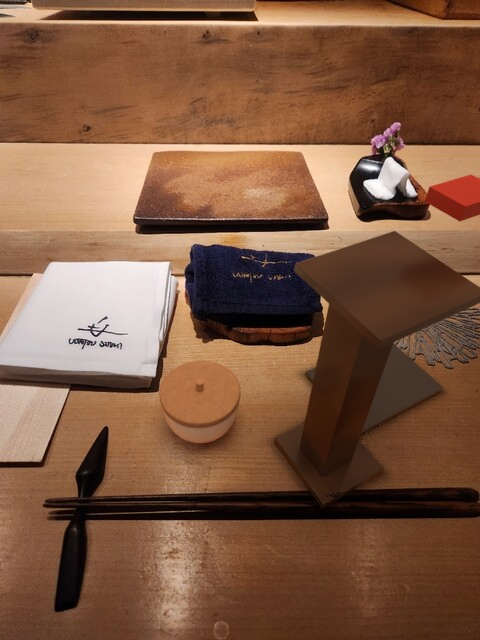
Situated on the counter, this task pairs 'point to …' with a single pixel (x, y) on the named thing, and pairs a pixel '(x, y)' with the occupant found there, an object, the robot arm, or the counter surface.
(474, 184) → the red block
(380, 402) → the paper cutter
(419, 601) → the counter surface
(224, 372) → the trinket box
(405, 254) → the pedestal stand
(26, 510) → the counter surface
